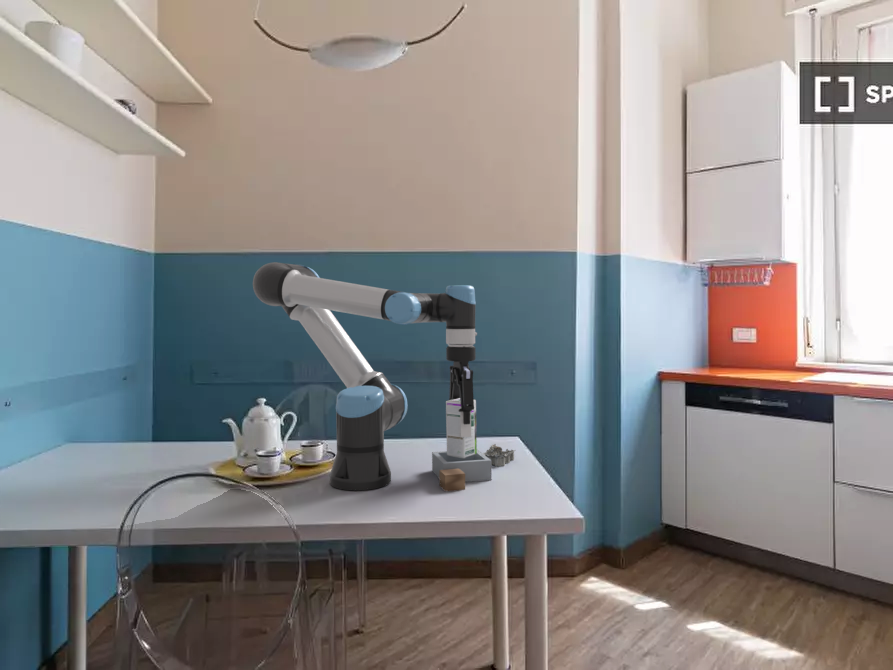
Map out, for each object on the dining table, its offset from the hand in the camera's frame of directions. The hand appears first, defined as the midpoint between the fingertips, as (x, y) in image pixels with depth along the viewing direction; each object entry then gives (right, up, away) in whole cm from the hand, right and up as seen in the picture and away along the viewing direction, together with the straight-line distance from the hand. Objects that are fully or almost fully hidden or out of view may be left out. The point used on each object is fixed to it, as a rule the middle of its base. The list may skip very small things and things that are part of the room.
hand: (461, 433), depth 165 cm
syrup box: (0, -6, 0) cm, 6 cm away
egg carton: (+11, -11, +15) cm, 21 cm away
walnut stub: (-2, -12, -10) cm, 16 cm away
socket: (0, -11, +1) cm, 11 cm away
